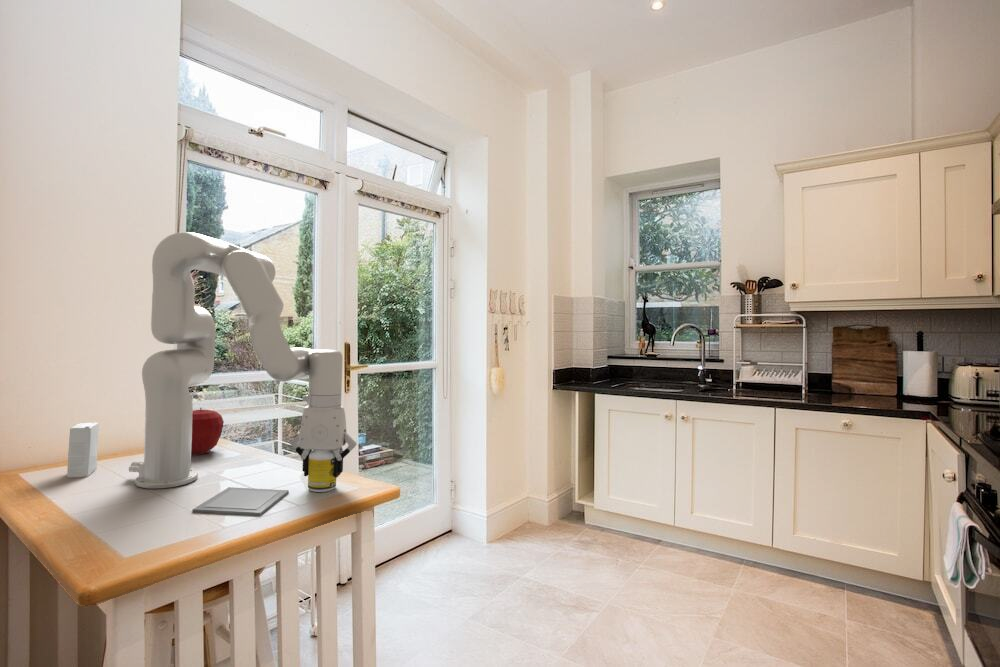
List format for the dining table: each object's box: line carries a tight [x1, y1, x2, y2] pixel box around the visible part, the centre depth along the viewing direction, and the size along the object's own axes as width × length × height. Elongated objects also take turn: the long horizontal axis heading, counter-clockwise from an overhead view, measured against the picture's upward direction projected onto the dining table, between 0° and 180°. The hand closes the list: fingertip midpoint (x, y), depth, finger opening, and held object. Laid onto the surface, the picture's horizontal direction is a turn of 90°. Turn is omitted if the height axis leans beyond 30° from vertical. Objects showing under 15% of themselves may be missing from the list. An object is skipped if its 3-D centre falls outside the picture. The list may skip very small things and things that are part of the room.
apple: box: [191, 407, 225, 456], centre depth 148 cm, size 12×12×13 cm
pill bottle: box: [307, 450, 337, 493], centre depth 122 cm, size 6×6×12 cm
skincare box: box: [66, 422, 100, 479], centre depth 125 cm, size 6×4×12 cm
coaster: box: [191, 486, 290, 517], centre depth 112 cm, size 14×14×1 cm
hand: (322, 474), depth 123 cm, fingers closed on pill bottle, 6 cm apart
